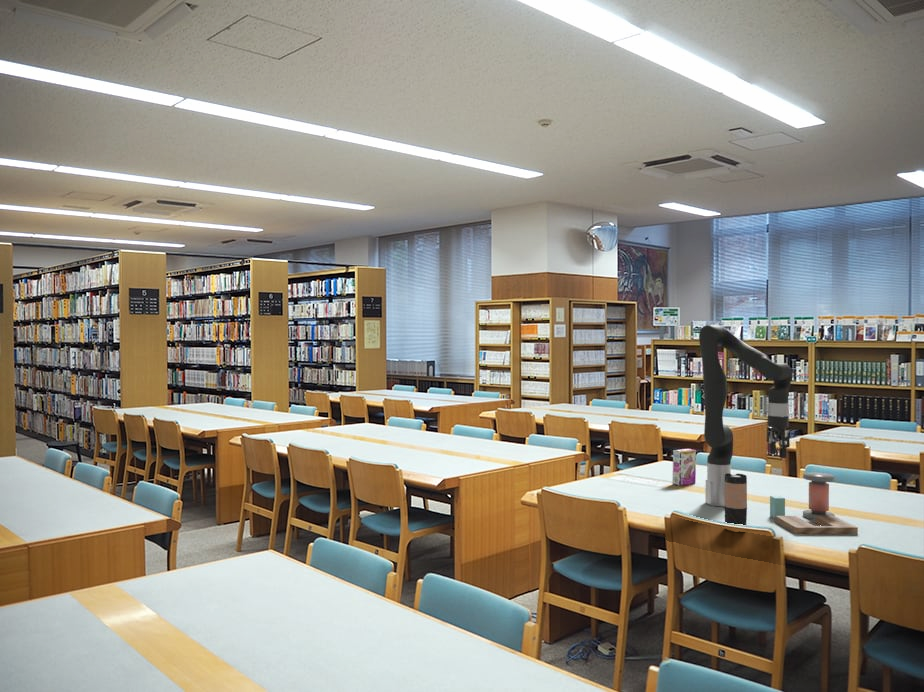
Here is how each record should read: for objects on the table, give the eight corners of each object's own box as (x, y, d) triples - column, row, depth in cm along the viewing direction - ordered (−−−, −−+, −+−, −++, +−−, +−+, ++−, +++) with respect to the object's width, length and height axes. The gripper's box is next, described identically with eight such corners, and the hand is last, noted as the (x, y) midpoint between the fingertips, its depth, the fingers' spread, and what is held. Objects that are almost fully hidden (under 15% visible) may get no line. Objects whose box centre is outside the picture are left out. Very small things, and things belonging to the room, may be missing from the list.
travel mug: (739, 534, 243) (739, 478, 243) (720, 529, 250) (720, 474, 249) (751, 530, 248) (751, 475, 248) (732, 525, 254) (732, 472, 254)
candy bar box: (680, 486, 321) (680, 451, 320) (672, 484, 325) (672, 450, 325) (696, 483, 327) (696, 449, 326) (688, 481, 331) (688, 448, 331)
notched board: (795, 534, 243) (795, 527, 243) (775, 522, 259) (775, 515, 259) (857, 534, 243) (857, 527, 243) (833, 522, 259) (833, 515, 259)
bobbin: (811, 521, 260) (811, 478, 260) (797, 513, 271) (797, 472, 271) (840, 521, 260) (840, 478, 260) (825, 513, 271) (825, 472, 271)
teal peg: (774, 518, 264) (774, 498, 264) (770, 516, 268) (770, 495, 268) (785, 518, 264) (785, 498, 264) (780, 516, 268) (780, 495, 268)
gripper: (760, 412, 272) (760, 452, 273) (776, 416, 258) (776, 459, 258) (779, 412, 272) (778, 452, 272) (796, 416, 258) (796, 459, 258)
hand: (777, 456), depth 265 cm, fingers open, 8 cm apart
